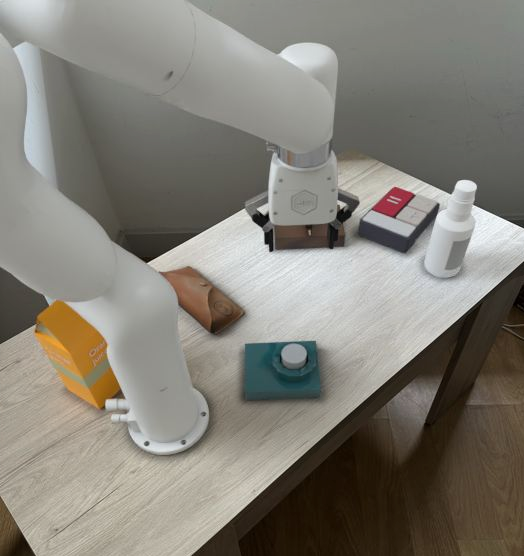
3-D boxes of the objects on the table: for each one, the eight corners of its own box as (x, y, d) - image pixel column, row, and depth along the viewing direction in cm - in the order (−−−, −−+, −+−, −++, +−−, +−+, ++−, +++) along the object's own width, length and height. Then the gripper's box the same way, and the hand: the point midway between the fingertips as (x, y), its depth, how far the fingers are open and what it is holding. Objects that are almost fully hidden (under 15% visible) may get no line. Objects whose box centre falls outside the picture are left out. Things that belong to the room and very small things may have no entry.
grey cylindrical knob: (282, 370, 82) (281, 363, 81) (281, 350, 85) (280, 343, 83) (307, 369, 82) (307, 362, 81) (305, 349, 84) (305, 342, 83)
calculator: (441, 200, 107) (409, 236, 99) (436, 217, 111) (405, 254, 103) (393, 183, 112) (359, 217, 104) (390, 201, 115) (356, 234, 107)
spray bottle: (460, 280, 98) (489, 199, 84) (423, 276, 99) (445, 196, 85) (459, 256, 102) (486, 175, 88) (423, 252, 103) (444, 172, 89)
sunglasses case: (247, 310, 94) (230, 298, 89) (224, 341, 95) (206, 331, 89) (187, 264, 103) (168, 249, 97) (166, 292, 103) (145, 279, 98)
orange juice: (66, 389, 86) (16, 306, 70) (104, 353, 90) (65, 267, 75) (100, 410, 83) (56, 329, 67) (137, 372, 87) (104, 287, 72)
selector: (275, 249, 105) (274, 237, 103) (273, 219, 112) (273, 206, 109) (344, 246, 105) (345, 234, 103) (338, 216, 111) (339, 203, 109)
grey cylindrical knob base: (245, 400, 83) (244, 386, 80) (245, 351, 89) (244, 336, 86) (320, 397, 83) (321, 383, 80) (315, 348, 89) (316, 333, 86)
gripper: (241, 164, 69) (247, 263, 82) (371, 158, 69) (356, 258, 82) (240, 135, 74) (246, 233, 87) (362, 130, 74) (350, 228, 87)
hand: (300, 245), depth 84 cm, fingers open, 9 cm apart
